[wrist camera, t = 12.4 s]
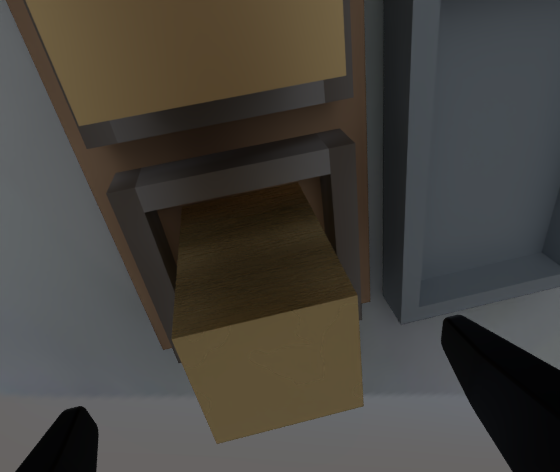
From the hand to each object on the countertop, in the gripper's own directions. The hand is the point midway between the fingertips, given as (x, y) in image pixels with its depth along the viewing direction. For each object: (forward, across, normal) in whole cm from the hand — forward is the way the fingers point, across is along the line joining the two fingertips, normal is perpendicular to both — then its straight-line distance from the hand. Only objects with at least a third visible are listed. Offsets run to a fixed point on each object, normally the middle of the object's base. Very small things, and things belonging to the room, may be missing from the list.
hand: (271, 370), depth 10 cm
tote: (+7, -10, -1) cm, 12 cm away
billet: (+6, 0, 0) cm, 6 cm away
